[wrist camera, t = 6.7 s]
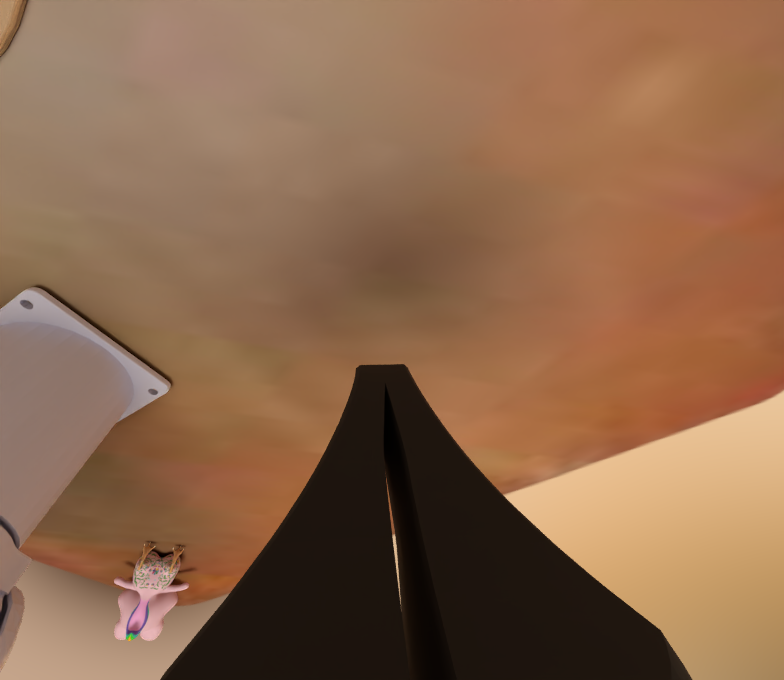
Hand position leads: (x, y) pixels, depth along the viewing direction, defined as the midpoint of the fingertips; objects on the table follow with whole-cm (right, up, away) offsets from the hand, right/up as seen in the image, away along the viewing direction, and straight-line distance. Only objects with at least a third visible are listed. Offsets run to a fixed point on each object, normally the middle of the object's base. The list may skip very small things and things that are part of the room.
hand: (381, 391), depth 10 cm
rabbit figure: (-24, -22, +25) cm, 41 cm away
